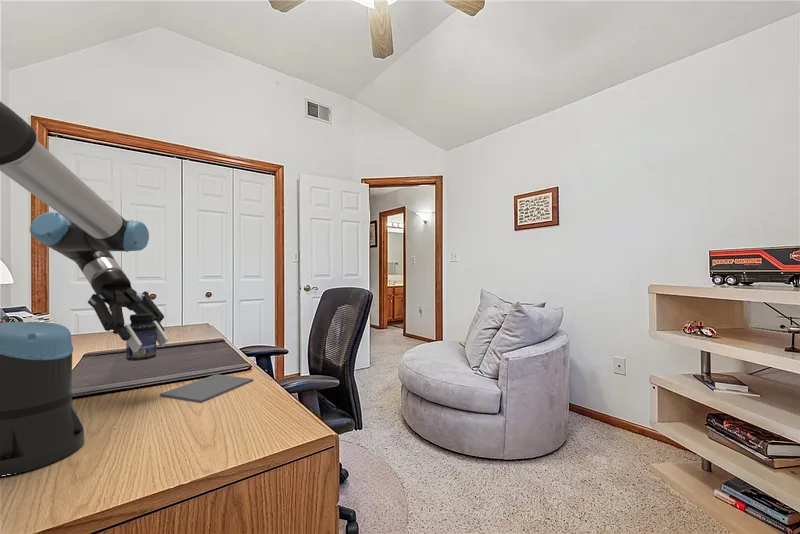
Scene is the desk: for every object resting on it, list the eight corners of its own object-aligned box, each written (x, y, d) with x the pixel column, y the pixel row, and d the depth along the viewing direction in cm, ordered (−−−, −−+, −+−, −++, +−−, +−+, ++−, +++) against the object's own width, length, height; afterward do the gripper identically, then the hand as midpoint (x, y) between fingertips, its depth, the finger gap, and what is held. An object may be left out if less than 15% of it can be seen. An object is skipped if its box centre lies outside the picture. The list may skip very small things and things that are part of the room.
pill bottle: (162, 355, 93) (162, 313, 93) (142, 361, 87) (143, 316, 87) (140, 355, 93) (140, 312, 93) (119, 361, 87) (119, 315, 87)
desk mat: (200, 402, 89) (200, 400, 89) (160, 396, 94) (160, 393, 94) (253, 380, 106) (253, 378, 106) (216, 376, 110) (216, 374, 110)
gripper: (137, 287, 104) (179, 348, 99) (56, 290, 86) (101, 365, 81) (150, 269, 103) (193, 329, 97) (71, 268, 85) (117, 343, 79)
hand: (151, 345), depth 89 cm, fingers closed on pill bottle, 6 cm apart
